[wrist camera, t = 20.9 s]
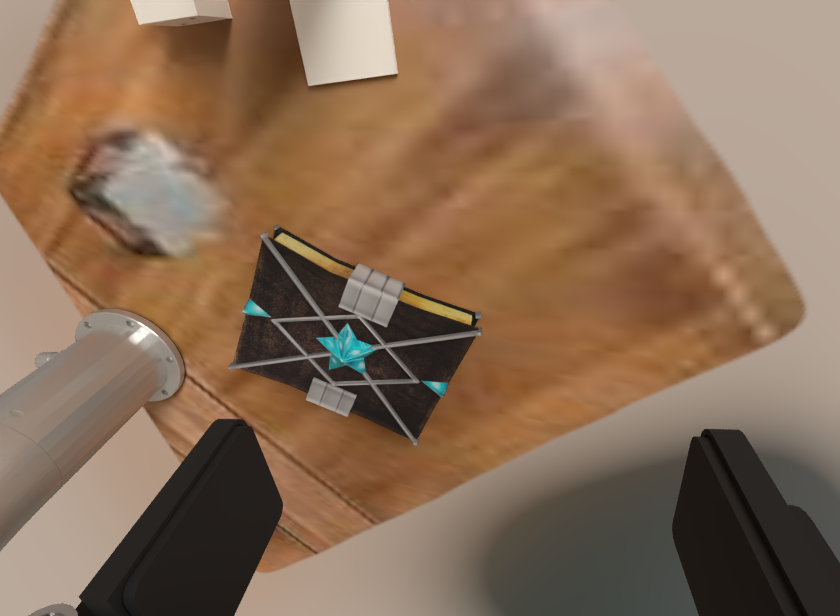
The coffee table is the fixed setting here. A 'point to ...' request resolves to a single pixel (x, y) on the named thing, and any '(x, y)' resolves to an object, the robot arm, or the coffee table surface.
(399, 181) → the coffee table surface
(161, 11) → the die
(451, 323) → the book
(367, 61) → the squares
